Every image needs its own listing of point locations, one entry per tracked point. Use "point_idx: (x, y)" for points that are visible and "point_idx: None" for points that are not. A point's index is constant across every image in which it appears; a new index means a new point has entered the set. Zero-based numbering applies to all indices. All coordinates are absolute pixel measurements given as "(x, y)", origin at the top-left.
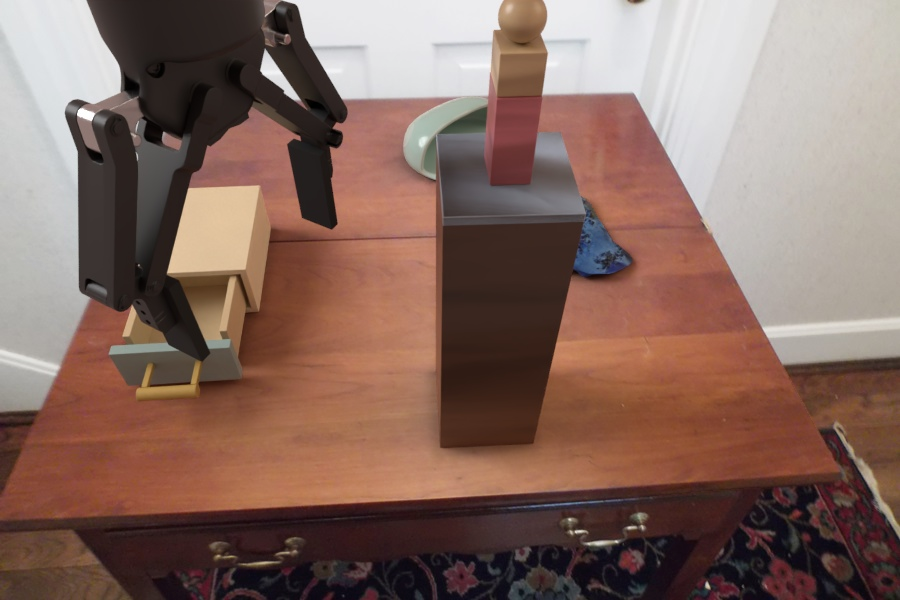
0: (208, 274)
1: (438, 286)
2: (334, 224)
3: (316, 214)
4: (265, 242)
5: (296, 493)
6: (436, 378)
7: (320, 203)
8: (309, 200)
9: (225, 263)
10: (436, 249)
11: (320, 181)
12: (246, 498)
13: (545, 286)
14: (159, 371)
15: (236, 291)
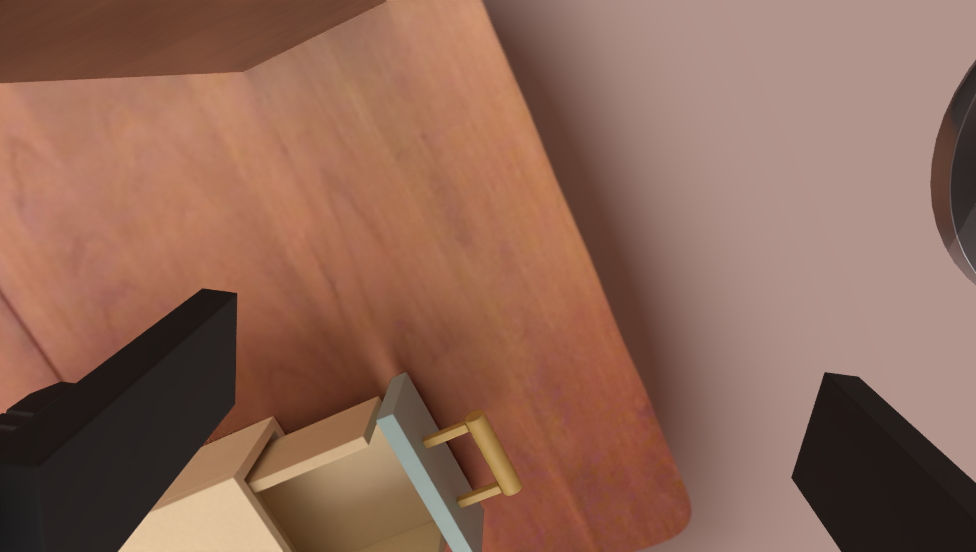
0: (272, 525)
1: (147, 18)
2: (214, 294)
3: (217, 363)
4: None
5: (548, 195)
6: (263, 57)
7: (190, 365)
8: (193, 408)
9: (238, 514)
10: (36, 66)
11: (132, 402)
12: (580, 260)
13: None
14: (457, 485)
15: (275, 466)
